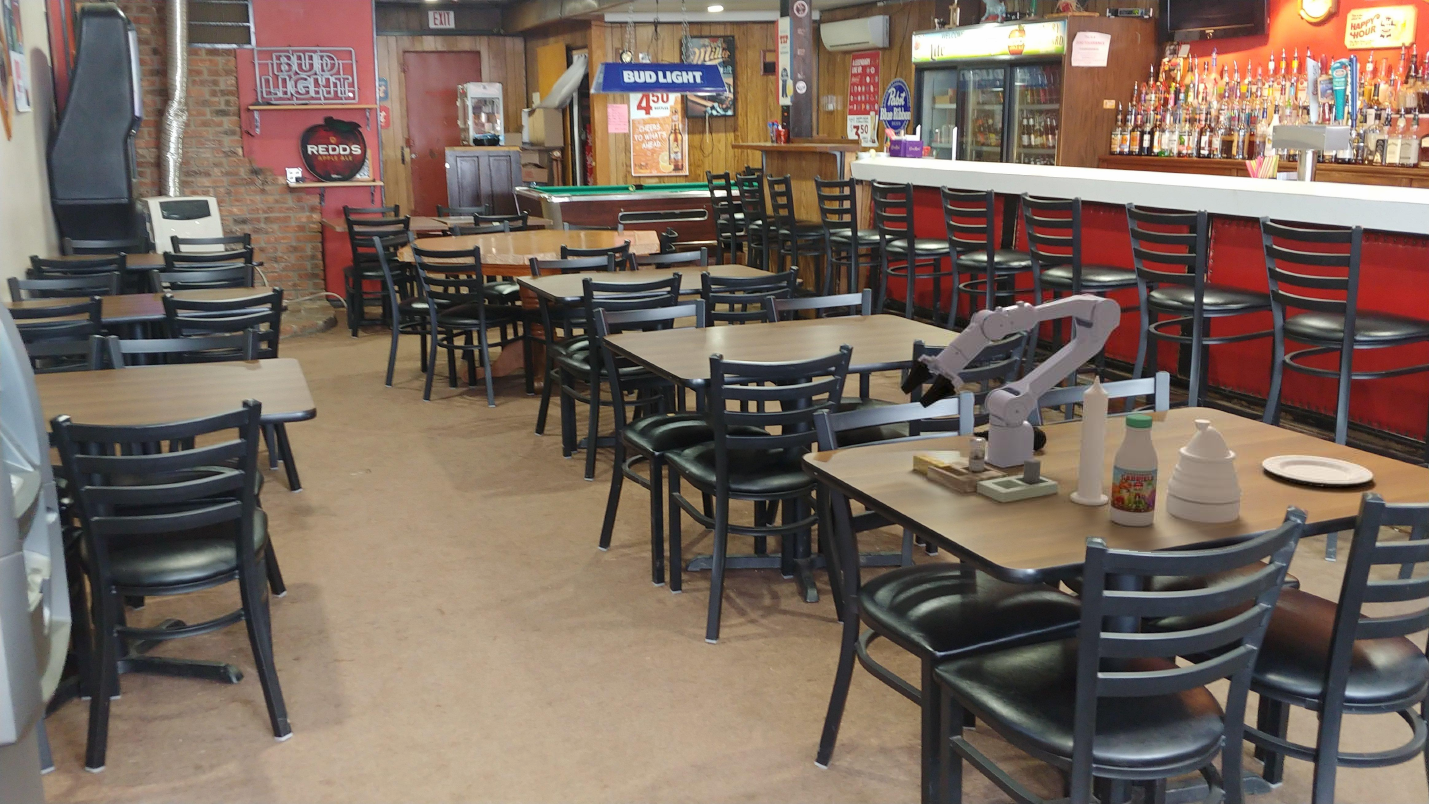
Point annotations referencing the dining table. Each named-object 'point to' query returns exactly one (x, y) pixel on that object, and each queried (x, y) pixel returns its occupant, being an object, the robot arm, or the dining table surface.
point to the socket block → (963, 476)
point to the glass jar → (976, 455)
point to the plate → (1317, 470)
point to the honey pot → (1205, 479)
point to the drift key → (928, 463)
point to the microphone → (1038, 437)
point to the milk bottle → (1135, 475)
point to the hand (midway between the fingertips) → (912, 398)
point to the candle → (1092, 447)
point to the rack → (1019, 484)
